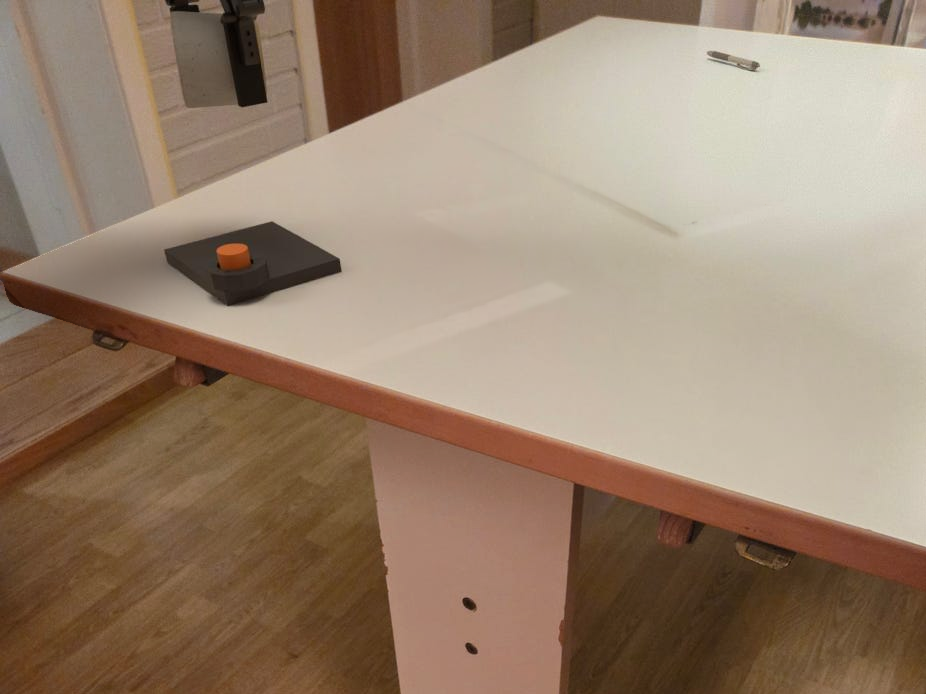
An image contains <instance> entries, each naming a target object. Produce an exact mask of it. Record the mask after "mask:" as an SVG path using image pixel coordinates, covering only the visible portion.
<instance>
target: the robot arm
mask: <svg viewBox="0 0 926 694" xmlns="http://www.w3.org/2000/svg"><path fill="white" fill-rule="evenodd" d="M164 2H165V4H166V6H167V7H169V8H168V9H169V13H170V14H171V12H172V11H183V12H199V13H201V11H200V7H199V4H197V3H199V2H200V0H164ZM219 2H220V5H221V7H222V10H223V12H222V14H223V15H222V16H221V20H220V22H221V24H222V25H223V27H224V32H225V38H226V43H227V48H228V53H229V59H230V64H231V69H232V74H233V80H234V85H235V90H236V95H237V101H238V105H237V107H240V108H246V107H252V106H256V105H257V106H258V105H263V104H267V103H268V97H267V96H268V95H267V96H266V90H265V84H264V78H263V72H262V66H261V60H260V55H259V49H258V43H257V37H256V31H255V25H254V20H256V21H257V18H258V15H263V14H265V12H266V6H265V2H264V0H219ZM193 3H194V4H193ZM195 3H196V4H195Z"/></svg>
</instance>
